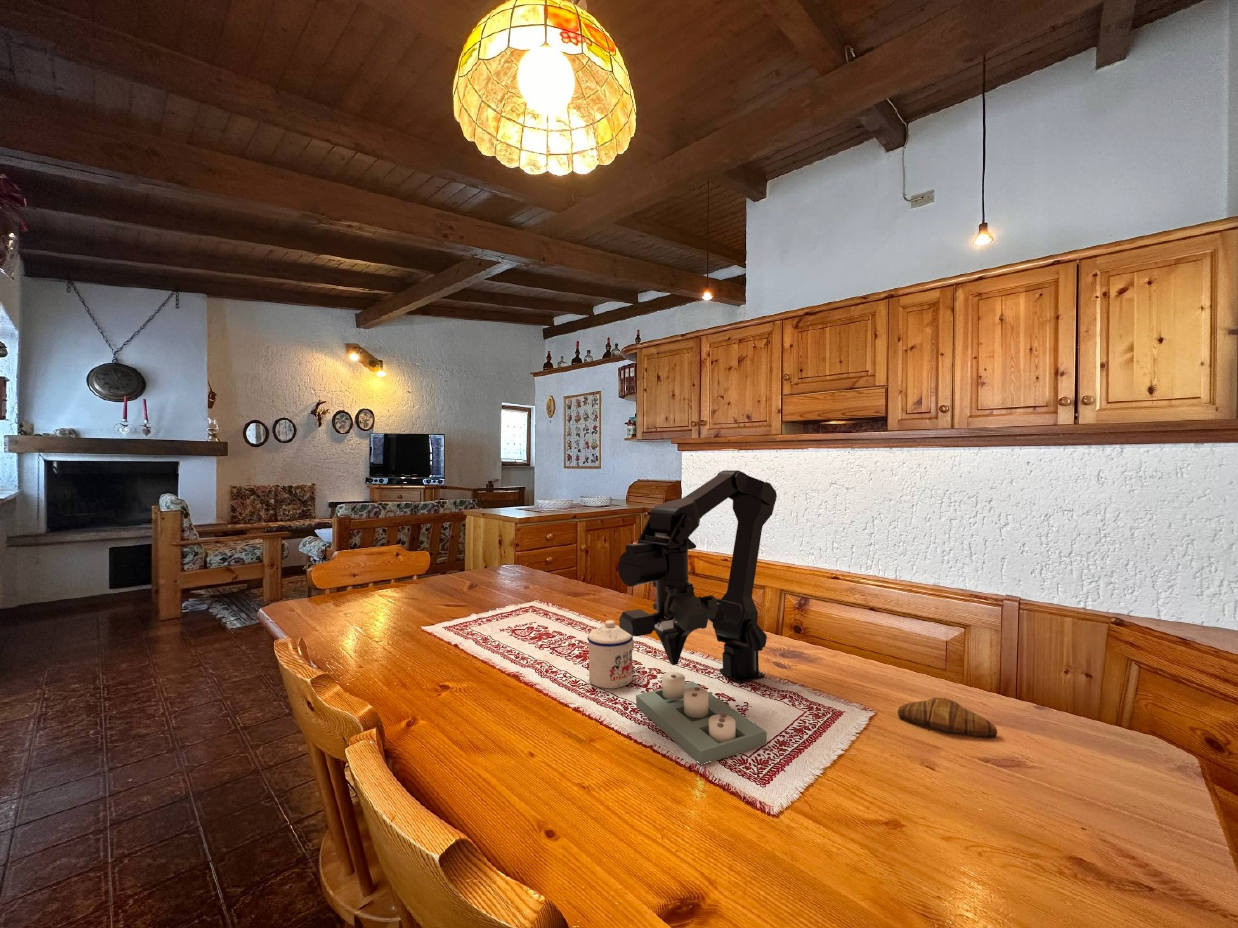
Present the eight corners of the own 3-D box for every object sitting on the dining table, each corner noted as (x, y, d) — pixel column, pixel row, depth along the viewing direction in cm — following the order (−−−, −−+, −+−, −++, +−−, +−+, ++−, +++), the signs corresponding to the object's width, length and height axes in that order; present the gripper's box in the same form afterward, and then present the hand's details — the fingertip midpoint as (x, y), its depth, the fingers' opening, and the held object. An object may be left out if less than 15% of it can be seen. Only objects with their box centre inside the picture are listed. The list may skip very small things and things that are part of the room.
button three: (724, 732, 81) (724, 710, 81) (741, 744, 78) (740, 722, 78) (703, 738, 80) (703, 716, 79) (719, 751, 76) (719, 728, 76)
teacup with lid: (615, 693, 96) (614, 631, 96) (578, 682, 102) (577, 623, 102) (650, 672, 106) (649, 615, 106) (615, 662, 111) (614, 608, 111)
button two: (699, 703, 88) (699, 684, 88) (713, 714, 84) (713, 693, 84) (679, 709, 86) (679, 688, 86) (692, 719, 82) (692, 698, 82)
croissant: (994, 729, 82) (994, 698, 82) (1000, 750, 76) (1000, 716, 76) (898, 709, 89) (898, 681, 89) (896, 727, 83) (896, 696, 83)
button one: (677, 687, 94) (677, 669, 94) (689, 696, 90) (689, 677, 90) (658, 692, 92) (658, 673, 92) (670, 701, 89) (669, 682, 89)
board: (693, 692, 96) (692, 681, 96) (766, 744, 78) (766, 731, 78) (636, 706, 91) (636, 694, 91) (700, 765, 73) (700, 751, 73)
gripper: (647, 593, 80) (649, 693, 80) (743, 579, 88) (745, 670, 88) (617, 579, 90) (618, 668, 90) (705, 567, 98) (707, 649, 98)
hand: (673, 664), depth 91 cm, fingers closed
